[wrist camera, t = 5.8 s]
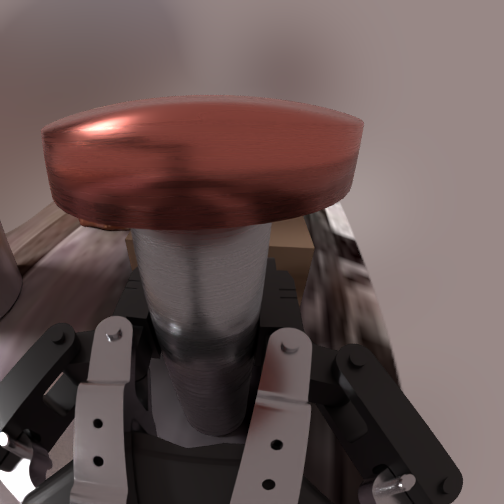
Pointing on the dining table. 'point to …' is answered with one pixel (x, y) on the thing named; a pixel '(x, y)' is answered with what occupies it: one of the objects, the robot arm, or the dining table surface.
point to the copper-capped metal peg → (202, 216)
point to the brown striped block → (277, 250)
